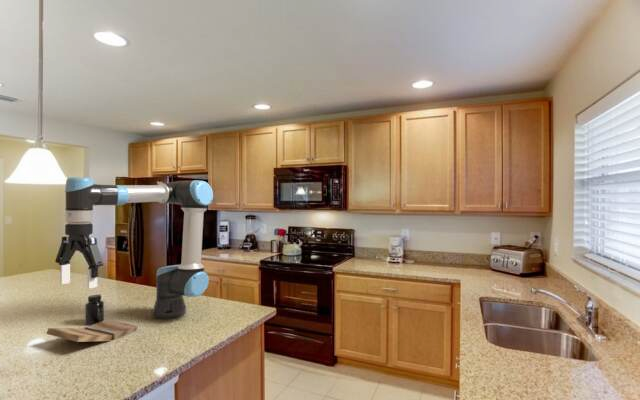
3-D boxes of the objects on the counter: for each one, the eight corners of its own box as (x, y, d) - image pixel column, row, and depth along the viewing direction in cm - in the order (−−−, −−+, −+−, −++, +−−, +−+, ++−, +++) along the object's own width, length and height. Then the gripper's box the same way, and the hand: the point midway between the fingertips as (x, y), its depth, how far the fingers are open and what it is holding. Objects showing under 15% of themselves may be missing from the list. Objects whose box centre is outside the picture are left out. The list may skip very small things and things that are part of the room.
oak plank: (81, 333, 133) (82, 328, 134) (110, 340, 126) (112, 335, 127) (46, 333, 121) (48, 328, 122) (76, 341, 115) (78, 335, 115)
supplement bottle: (102, 318, 150) (102, 292, 150) (105, 322, 145) (105, 296, 145) (83, 322, 145) (84, 295, 145) (86, 326, 140) (87, 299, 140)
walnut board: (107, 324, 143) (107, 318, 143) (136, 330, 137) (136, 324, 137) (84, 332, 134) (84, 326, 134) (114, 339, 128) (114, 333, 128)
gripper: (42, 222, 111) (42, 284, 111) (93, 225, 102) (93, 292, 102) (66, 221, 118) (65, 279, 118) (116, 223, 109) (115, 286, 109)
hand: (78, 285), depth 110 cm, fingers open, 13 cm apart
